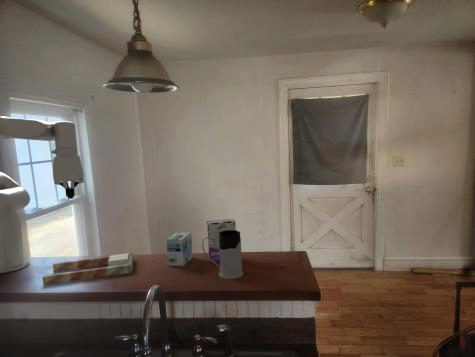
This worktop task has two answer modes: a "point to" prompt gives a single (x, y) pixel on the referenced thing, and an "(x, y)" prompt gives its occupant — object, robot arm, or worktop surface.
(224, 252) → the white pitcher
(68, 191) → the robot arm
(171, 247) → the light bulb box
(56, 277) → the trap lane
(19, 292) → the worktop surface
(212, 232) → the candy bar box
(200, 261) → the worktop surface
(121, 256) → the cream block
